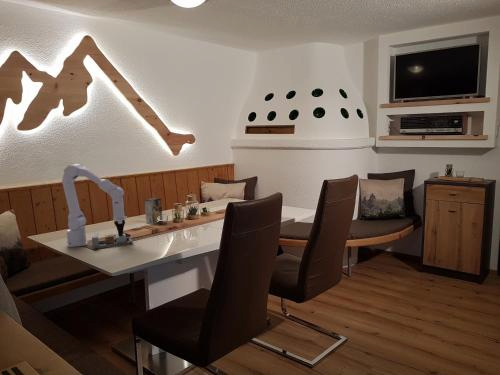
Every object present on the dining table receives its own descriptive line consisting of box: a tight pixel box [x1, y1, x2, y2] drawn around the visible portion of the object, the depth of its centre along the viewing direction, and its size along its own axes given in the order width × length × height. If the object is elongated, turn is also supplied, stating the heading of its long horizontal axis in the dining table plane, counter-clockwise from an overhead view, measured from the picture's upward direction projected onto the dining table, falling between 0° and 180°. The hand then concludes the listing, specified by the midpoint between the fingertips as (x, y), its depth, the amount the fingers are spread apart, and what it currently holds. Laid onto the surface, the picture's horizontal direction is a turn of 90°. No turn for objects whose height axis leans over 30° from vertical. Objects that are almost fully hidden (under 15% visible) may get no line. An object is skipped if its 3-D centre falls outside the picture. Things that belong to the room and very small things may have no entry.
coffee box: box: [144, 197, 163, 225], centre depth 259 cm, size 9×6×16 cm
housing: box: [104, 233, 115, 244], centre depth 210 cm, size 4×4×5 cm
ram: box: [115, 232, 127, 243], centre depth 212 cm, size 5×8×8 cm, turn 21°
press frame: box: [91, 232, 133, 250], centre depth 210 cm, size 20×11×6 cm, turn 111°
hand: (120, 233), depth 211 cm, fingers closed on ram, 2 cm apart
